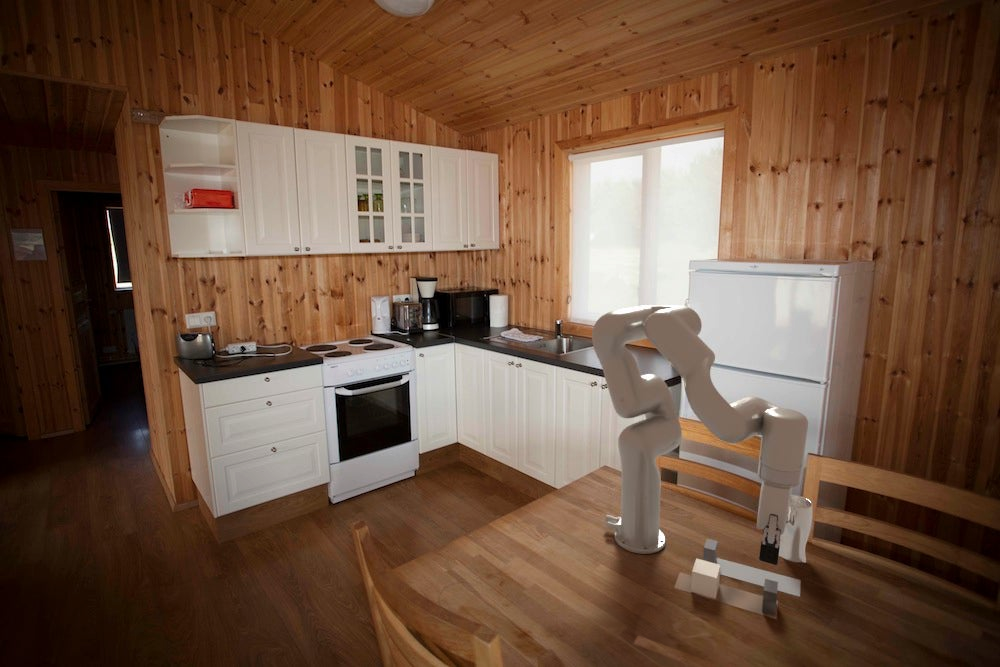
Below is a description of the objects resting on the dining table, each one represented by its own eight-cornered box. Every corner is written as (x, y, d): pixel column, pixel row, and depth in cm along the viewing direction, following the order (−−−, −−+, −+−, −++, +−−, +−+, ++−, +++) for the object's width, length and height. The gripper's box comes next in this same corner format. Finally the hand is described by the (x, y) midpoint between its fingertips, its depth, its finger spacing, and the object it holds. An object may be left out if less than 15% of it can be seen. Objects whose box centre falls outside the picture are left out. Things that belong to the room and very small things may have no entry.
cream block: (691, 591, 114) (692, 571, 113) (695, 578, 118) (696, 558, 117) (715, 599, 112) (716, 578, 111) (719, 585, 116) (720, 564, 115)
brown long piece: (673, 591, 116) (674, 567, 114) (679, 576, 121) (680, 552, 119) (776, 623, 106) (778, 597, 104) (777, 604, 111) (779, 579, 110)
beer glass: (812, 569, 122) (818, 510, 119) (780, 566, 123) (785, 507, 120) (802, 551, 128) (807, 494, 125) (771, 548, 130) (775, 492, 127)
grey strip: (700, 572, 122) (701, 549, 120) (705, 558, 127) (706, 535, 126) (799, 600, 112) (802, 575, 111) (800, 584, 117) (802, 560, 116)
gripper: (761, 450, 112) (753, 521, 116) (754, 486, 97) (745, 567, 101) (802, 458, 108) (792, 531, 112) (800, 497, 94) (789, 580, 98)
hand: (769, 548), depth 107 cm, fingers open, 9 cm apart
